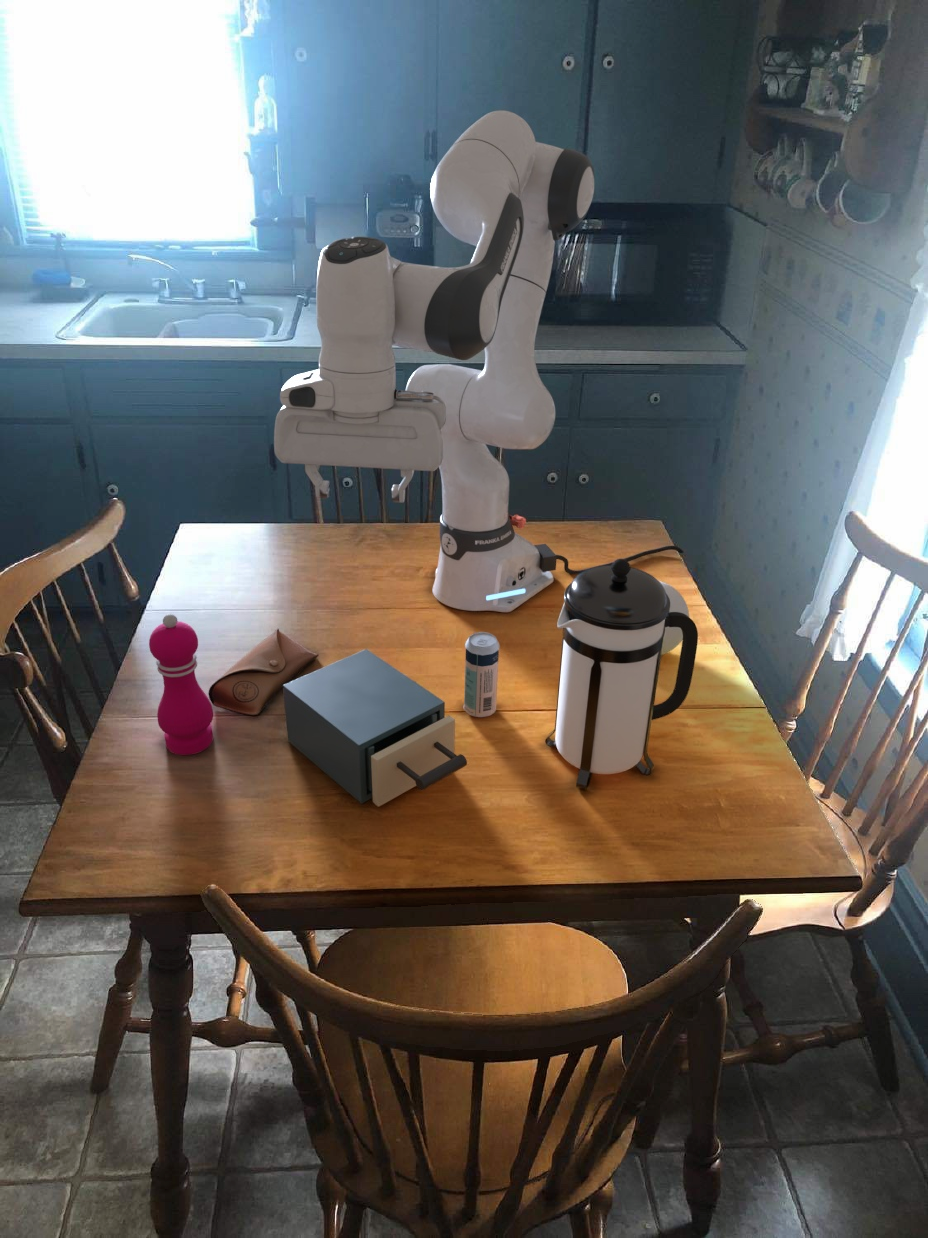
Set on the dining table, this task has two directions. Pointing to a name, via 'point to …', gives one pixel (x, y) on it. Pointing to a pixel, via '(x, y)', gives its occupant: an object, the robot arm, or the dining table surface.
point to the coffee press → (615, 668)
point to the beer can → (481, 674)
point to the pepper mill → (181, 689)
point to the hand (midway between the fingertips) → (360, 498)
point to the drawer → (412, 758)
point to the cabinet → (352, 714)
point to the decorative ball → (676, 605)
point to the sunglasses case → (260, 674)
